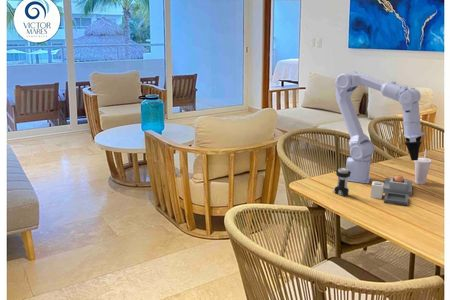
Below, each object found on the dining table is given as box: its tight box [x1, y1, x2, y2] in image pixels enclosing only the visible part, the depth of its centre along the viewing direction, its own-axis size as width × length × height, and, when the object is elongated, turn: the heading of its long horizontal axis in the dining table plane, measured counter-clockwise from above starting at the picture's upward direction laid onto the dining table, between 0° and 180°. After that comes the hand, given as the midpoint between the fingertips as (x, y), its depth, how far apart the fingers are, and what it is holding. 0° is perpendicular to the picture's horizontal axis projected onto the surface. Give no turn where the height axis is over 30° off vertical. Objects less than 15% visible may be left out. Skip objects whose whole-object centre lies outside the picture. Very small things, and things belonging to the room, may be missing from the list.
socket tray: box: [383, 192, 409, 207], centre depth 172 cm, size 8×8×1 cm
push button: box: [331, 167, 351, 197], centre depth 177 cm, size 7×5×10 cm
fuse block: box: [370, 180, 385, 200], centre depth 176 cm, size 4×4×6 cm
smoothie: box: [413, 148, 432, 185], centre depth 189 cm, size 6×6×14 cm
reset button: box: [394, 174, 404, 183], centre depth 180 cm, size 3×3×3 cm
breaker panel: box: [383, 176, 413, 198], centre depth 183 cm, size 10×12×4 cm
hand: (414, 158), depth 176 cm, fingers open, 7 cm apart
